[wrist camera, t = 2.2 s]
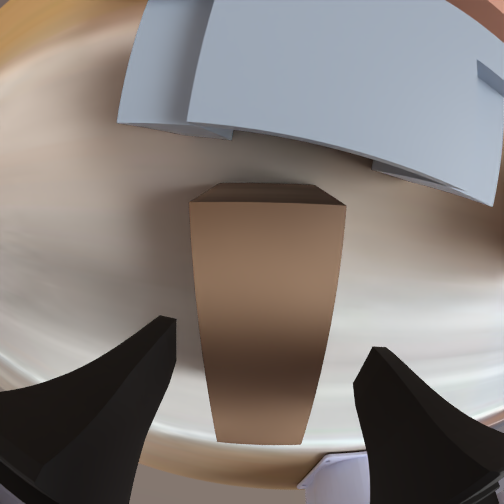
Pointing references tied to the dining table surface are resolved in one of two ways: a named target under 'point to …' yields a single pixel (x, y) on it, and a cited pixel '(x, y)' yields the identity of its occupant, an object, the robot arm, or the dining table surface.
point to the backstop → (484, 13)
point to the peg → (264, 303)
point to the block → (329, 81)
